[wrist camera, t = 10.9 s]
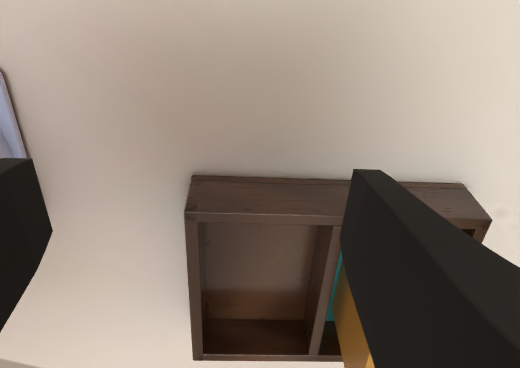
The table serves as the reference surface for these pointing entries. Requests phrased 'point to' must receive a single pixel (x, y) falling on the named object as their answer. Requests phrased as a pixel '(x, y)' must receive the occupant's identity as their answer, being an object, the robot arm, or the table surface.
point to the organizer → (280, 262)
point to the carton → (349, 326)
